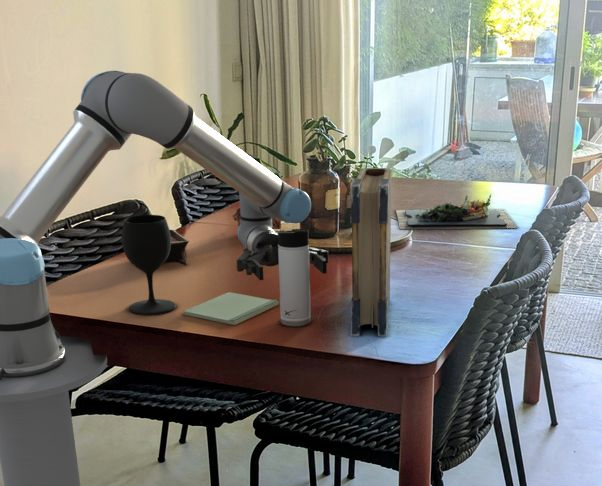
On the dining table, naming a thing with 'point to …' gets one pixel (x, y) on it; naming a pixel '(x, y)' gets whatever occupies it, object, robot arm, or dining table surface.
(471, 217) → the plated dish
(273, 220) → the seed pod
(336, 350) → the dining table surface
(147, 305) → the wine glass
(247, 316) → the pale green notebook
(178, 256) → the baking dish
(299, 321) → the travel mug
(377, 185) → the decorative book
